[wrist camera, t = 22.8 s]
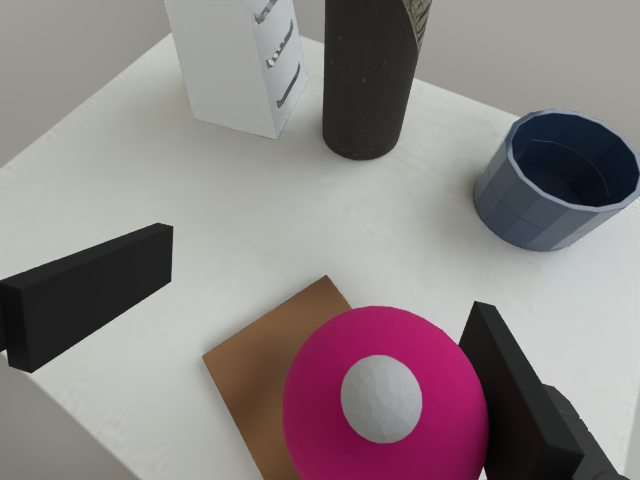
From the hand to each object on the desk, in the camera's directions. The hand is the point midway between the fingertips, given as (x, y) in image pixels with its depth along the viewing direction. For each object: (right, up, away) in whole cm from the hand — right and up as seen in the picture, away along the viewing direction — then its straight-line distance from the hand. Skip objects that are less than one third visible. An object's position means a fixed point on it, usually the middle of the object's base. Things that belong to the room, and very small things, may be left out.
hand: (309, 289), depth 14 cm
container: (+5, +14, +24) cm, 28 cm away
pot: (+21, +6, +19) cm, 29 cm away
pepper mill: (+5, -11, +10) cm, 15 cm away
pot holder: (0, -9, +12) cm, 15 cm away
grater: (-8, +19, +27) cm, 34 cm away
